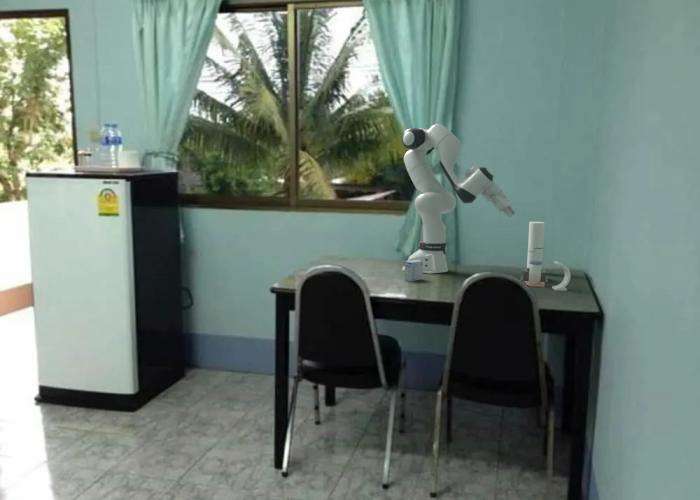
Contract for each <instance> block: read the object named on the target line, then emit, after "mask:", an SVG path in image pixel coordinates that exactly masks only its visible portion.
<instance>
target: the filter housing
mask: <svg viewBox="0 0 700 500" xmlns="http://www.w3.org/2000/svg"><path fill="white" fill-rule="evenodd" d="M529 269H530V268H527V267H523V272H522V275H521V276H520V280H522V281H521V282H524V281H529ZM540 282H545V284H548V283H549V280H548V276H547V269H546V268H542V269H541V279H540Z"/></svg>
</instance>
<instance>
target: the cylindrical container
mask: <svg viewBox="0 0 700 500" xmlns="http://www.w3.org/2000/svg"><path fill="white" fill-rule="evenodd" d="M528 225H529V226H528V242H527V244H528V245H527V258H526V259H527V260H526V268H530V261H531V260H537V261H542V262H543V257H544V240H545V225H546V222H544V221H529V224H528ZM541 269H543V265H542V266H541Z"/></svg>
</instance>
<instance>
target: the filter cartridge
mask: <svg viewBox="0 0 700 500" xmlns="http://www.w3.org/2000/svg"><path fill="white" fill-rule="evenodd" d="M541 266H542V267H543V260H542V261H537V260H531V261H530V269H529V284H535V285H538V284H540V279H541Z"/></svg>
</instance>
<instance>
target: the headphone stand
mask: <svg viewBox="0 0 700 500" xmlns="http://www.w3.org/2000/svg"><path fill="white" fill-rule="evenodd" d="M553 264H556V265H558V266H560V267H562V269H563V271H564V277H563V278H562V281H561V282H560V283H559V284H557V285H553V286H551V289H553V290H554V291H568V288H567V286H568V284H569V282H570V281H571V271H570V268H569V267H568V266H567V265H565V264H564V263H562V262H560V261H558V260H557V261H556V260H554V261H553Z"/></svg>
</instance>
